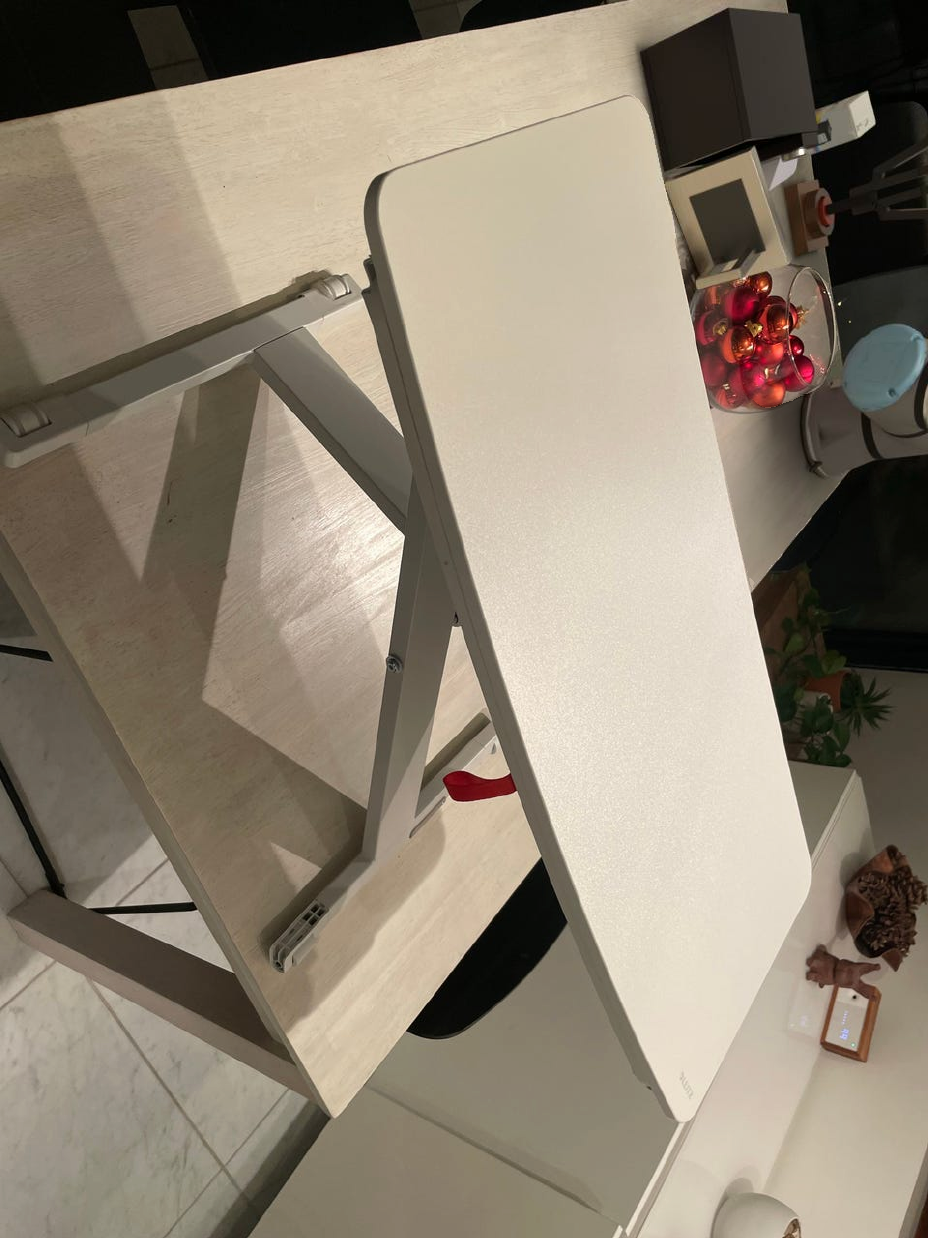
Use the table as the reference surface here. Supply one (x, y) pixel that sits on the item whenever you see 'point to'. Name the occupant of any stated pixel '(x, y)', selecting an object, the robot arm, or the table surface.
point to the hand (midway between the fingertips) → (830, 209)
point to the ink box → (842, 122)
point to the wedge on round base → (778, 171)
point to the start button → (825, 211)
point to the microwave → (731, 89)
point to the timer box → (806, 216)
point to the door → (729, 219)
